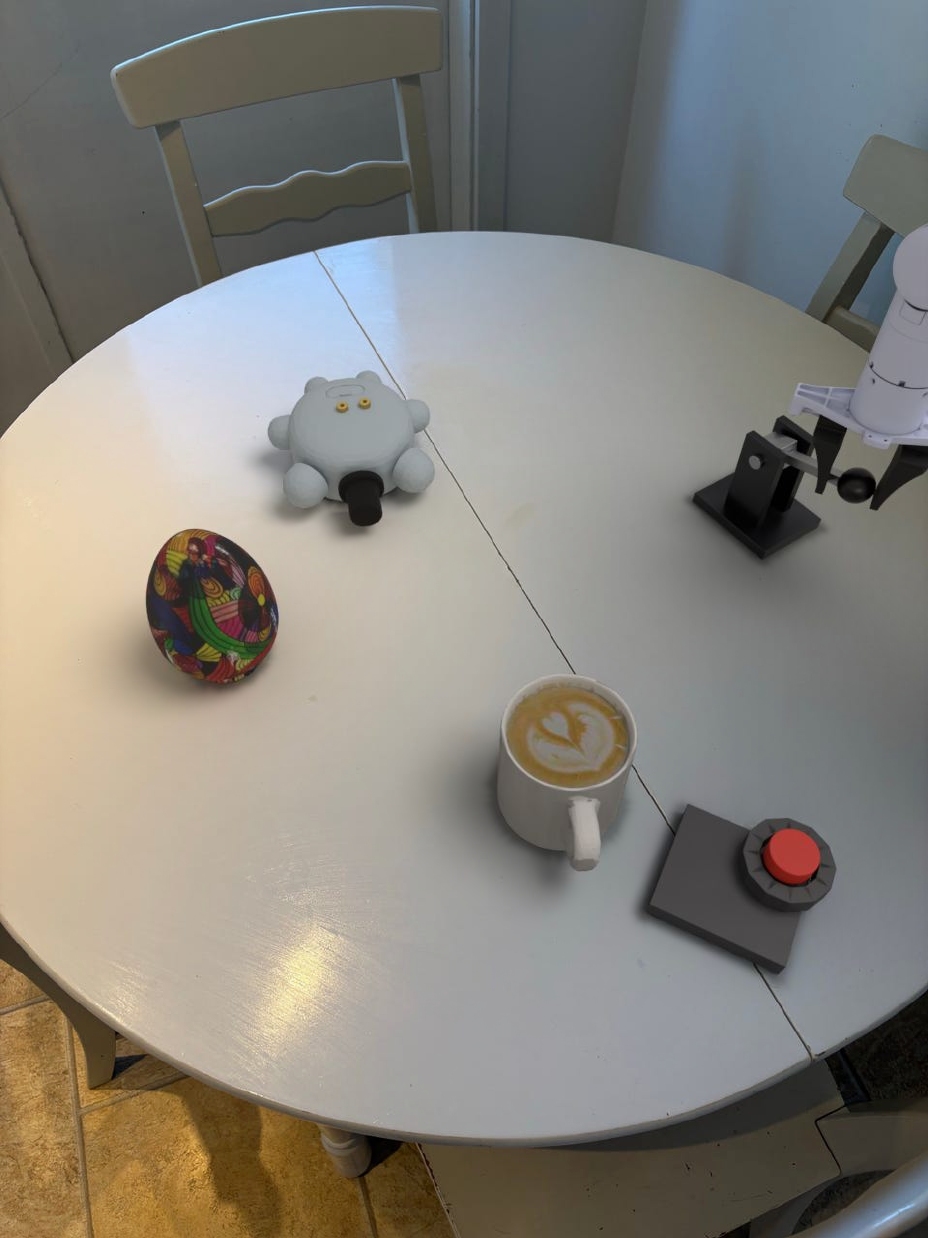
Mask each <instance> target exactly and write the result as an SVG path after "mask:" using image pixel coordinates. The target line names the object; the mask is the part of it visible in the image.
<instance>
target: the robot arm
mask: <svg viewBox="0 0 928 1238" xmlns="http://www.w3.org/2000/svg"><path fill="white" fill-rule="evenodd" d="M892 275H893V281H894V284H895V287H896V289H895V293H894V296H893V297H892V300H891V302H890V305H889V307H888V310H887V311H886V314H885V316H884V319H883V321H882V323H881V326H880V329H879V331H878V333H877V336H876V337H875V338H876V339H875V341H874V343H873V346H872V348H871V351H870V353H869V354H868V358H867V361H866V363H865V365H864V368H863V370H862V373H861V375H860V377H859V380H858V382H857V384H856V387H842V386H825V385H813V384H808V383H804V382H798V383H797V386H796V388H795V391H794V394H793V396H792V398H791V402H790V404H789V407H788V410H787V414H788V415H793V416H796V417H800V416H801V415H802V414H807V415H809V416H814V417H817V418H818V419H817V422H816V424H815V427H814V429H813V433H812V436H813V445H814V451H815V456H816V460H817V464H818V477H816V478H817V479H816V486H815V489H814V493H815V494H818V495H821V496H822V495H823V494H824V493H825V489H826V487H827V484H828V482H827V481H828V478H829V475H830V472H831V469H832V466H833V465H834V464H835V462H836V459H837V457H838V454H839V452H840V451H841V448H842V445H843V442H844V439H845V436H846V434H847V432H848V430H850V431H852V432H854V433H856V434H857V435H859V436H861V437H862V439H861V442H862V443H863V445H865V446H868V447H873V448H874V449H879V450H882V451H883V450H885V451H886V450H888V449H889V447H890V446H891V445H897V447H896V450H895V452H894V454H893V456H892V459H891V461H890V462H889V465H888V466H887V468H886V469H885V471H884V473H883V474H882V476H881V477H880V480H879V481H878V483H877V484H876V489H875V492H874V494H873V495H872V497H871V500H870V504H869V508H868V509H869V510H872V511H876V512H877V511H878V510H879V509H880V508H881V506H883V504H884V503H885V502H886V501H887V500H888V499H889V498H890V497H891V496H892V495H894V493H895V492H896V491H898V490H899V489H900V488H901V487H903V486H905V485H906V484H907V483H909V482H911V481H912V480H915V479H916V478H919V477H920V476H923V475H924V474H925V473H927V471H928V223H925V224H923V225H921V226H919V227H918V228H916V229H915V230H912V231H911V232H910V233H908V235H906V236H905V237H904V238H903V239H902V241H901V242H900V244H899V245H898V247H897V249H896V251H895V254H894V257H893V262H892ZM833 467H834V466H833Z"/></svg>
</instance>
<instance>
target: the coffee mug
mask: <svg viewBox="0 0 928 1238" xmlns="http://www.w3.org/2000/svg"><path fill="white" fill-rule="evenodd" d="M499 730H500V732H499V746H498V747H499V748H498V762H497V763H498V765H497V785H496V799H497V802H498V807H499V810H500V813H501V815H502V817H503V818H504V819H505V822H506V824H507V825H508V826H509V827H510V829H512V830H513V832H515V834H517V836H519V837H520V838H521V839H523V840H525V841H526V842H528V843H530V844H531V845H534V846H536V847H539V848H541V849H546V850H550V851H559V852H561V851H565V852H566V856H567V860H568V863H569V865H570V867H571V868H572V869H573V871H576V872H589V871H592V870H594V869H596V867H597V866H598V864H599V863H600V855H601V848H602V847H601V846H602V843H601V838H602V837H603V836H605V835H606V834H607V832H608V831H609V830H610V829H611V827H612V826H613V824H614V823H615V821H616V818H617V816H618V813H619V809H620V806H621V802H622V800H623V796H624V792H625V790H626V786H627V783H628V779H629V776H630V773H631V769H632V766H633V762H634V760H635V755H636V752H637V749H638V739H639V737H638V735H639V734H638V727H637V722H636V720H635V717H634V714H633V712H632V710H631V708H630V707H629V705H628V703H626V701H625V700H624V699H623V697H621V696H620V695H619V694H618V693H617V692H616V691H615V690H614V689H613V688H611V687H610V686H608V685H607V684H605V683H603V682H601V681H599V680H597V679H595V678H592V677H589V676H585V675H581V674H578V673H577V674H576V673H554V674H548V675H544V676H540V677H538V678H535V679H533V680H531V681H530V682H527V683H526V684H524V685H523V686H522V687H521V688H519V689H518V690H517V691H516V692H514V694H513V695H512V696H511V698H510V699H509V700H508V702H507V704H506V706H505V708H504V710H503V713H502V716H501V721H500V729H499Z"/></svg>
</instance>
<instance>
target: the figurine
mask: <svg viewBox="0 0 928 1238" xmlns="http://www.w3.org/2000/svg"><path fill="white" fill-rule="evenodd" d="M303 393H304V394H303V395H302V396H301V397H300V398H299V399H298V401H297V402H296V403H295V405H294V407H293V408H292V410H291V413H290V414H284V415H280V416H277V417H274V418H272V419H271V421H270V422H269V423H268V427H267V437H268V440H269V442H270V444H271V445H272V446H273V447H275V448H276V449H279V450H281V451H290V454H291V458H292V462H293V464H292V466H291V467H290V468H289V470H287V471H286V473H285V475H284V476H283V479H282V491H283V494H284V497H285V499H286V500H287V501H288V503H290V504H291V505H293V506H294V507H295V506H296V507H297V508H300V509H309V508H313V507H315V506H317V505H319V504H320V503H321V502H322V501H323V499H324V498H327V499H330V500H333V501H340V502H344V503H345V504H346V505H347V510H348V517H349V521H350V522H351V523H352V524H353V525H355V526H357V527H362V528H364V527H366V528H367V527H371V526H374V525H376V524H378V523H379V522H380V521H381V520H382V518H383V508H382V503H381V502H382V501H381V498H382V496H384V495H386V494H387V493H390V492H391V491H394V489H395V488H399V489H401V490H402V491H404V492H407V493H411V494H413V493H414V494H415V493H421V492H423V491H426V490H427V489H428V488H429V487H431V484H432V483H433V482H434V480H435V476H436V475H435V474H436V468H435V464H434V461H433V460H432V458H431V457H430V456H429V455H428V454H427V453H426V452H424V451H423V450H421V448H420V449H419V448H418V447H415V435H416V434H418V433H420V432H422V431H424V430H425V429H426V428H427V427H428V426H429V424H430V421H431V411H430V407H429V406H428V405H427V403H426V402H424V401H423V400H421V399H417V398H416V399H415V398H410V399H409V398H408V399H403V397H401V395H400V394H399V393H398V392H397V391H395V390H394V389H393V388H391V387H389V386H388V385H386V384H384V383H383V381H382V379H381V377H380V376H379V374H378V373H376V372H375V371H373V370H364V371H363V370H362V371H361V372H359V373H357V375H356V377H345V378H339V379H334V380H328V379H326V377H322V376H313V377H311V378H310V379H308V380H307V381H306V383H305V386H304V388H303Z"/></svg>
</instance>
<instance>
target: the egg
mask: <svg viewBox="0 0 928 1238" xmlns="http://www.w3.org/2000/svg"><path fill="white" fill-rule="evenodd" d="M145 610H146V617H147V622H148V626H149V629H150V632H151V636H152V638H153V640H154V642H155V644H156V646H157V648H158V650H159V651H160V653H161V654H162V656H163V658H165V659H166V660H167V661H168V662H169V664H170V665H172V666H173V667H174V668H175V669H177V670H178V671H180V672H182V673H184V674H185V675H188V676H189V677H192V678H196V679H199V680H204V681H210V682H214V683H219V684H227V683H232V682H233V683H234V682H236V681H237V682H238V681H240V680H241V679H243V678H245V677H248V676H250V674H251V673H254V671H255V670H256V668H257V667H259V665H260V664H261V663H262V661H263V660H264V659H265V658H266V657H267V655H268V654H269V653H270V651H271V650H272V648H273V646H274V643H275V642H276V639H277V635H278V631H279V624H280V616H279V615H280V614H279V607H278V602H277V599H276V595H275V593H274V589H273V587H272V585H271V583H270V581H269V579H268V577H267V575H266V573H265V572H264V570H263V569H262V567H261V566H260V565H259V564H258V562H257V561H256V560H255V559H254V557H252V556H251V555H250V554H249V552H247V551H246V549H244V548H243V547H242V546H240V545H239V544H237V543H236V542H235V541H233V540H232V539H229V538H228V537H227V536H223V534H220V533H217V532H215V531H211V530H208V529H204V528H187V529H184V530H181V531H178V532H176V533H175V534H174V535H172V536H171V537H169V539H168V540H166V541H165V543H164V544H163V545H162V547H160V550H159V551H158V553H157V554H156V556H155V558H154V560H153V562H152V565H151V567H150V570H149V573H148V578H147V582H146V590H145Z"/></svg>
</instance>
